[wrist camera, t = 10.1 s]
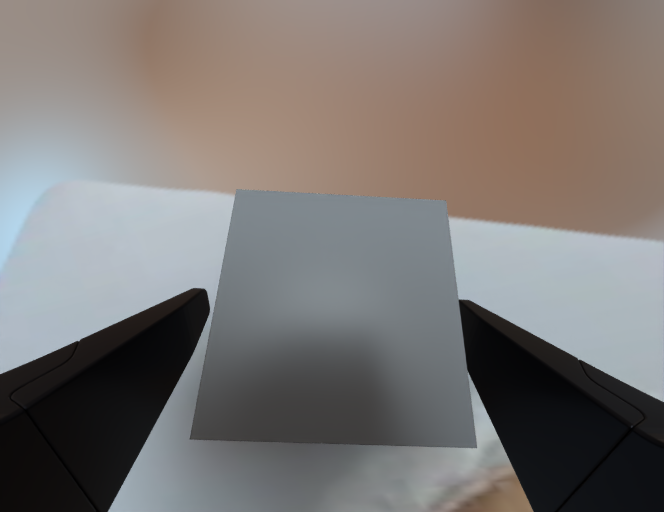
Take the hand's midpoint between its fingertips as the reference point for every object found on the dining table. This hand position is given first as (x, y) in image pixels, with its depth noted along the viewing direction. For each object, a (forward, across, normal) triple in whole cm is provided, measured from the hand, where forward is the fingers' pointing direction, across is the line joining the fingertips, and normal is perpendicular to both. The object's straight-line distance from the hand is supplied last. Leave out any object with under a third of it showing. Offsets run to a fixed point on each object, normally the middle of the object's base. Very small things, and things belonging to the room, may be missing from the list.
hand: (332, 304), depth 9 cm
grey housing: (+5, 0, +6) cm, 8 cm away
